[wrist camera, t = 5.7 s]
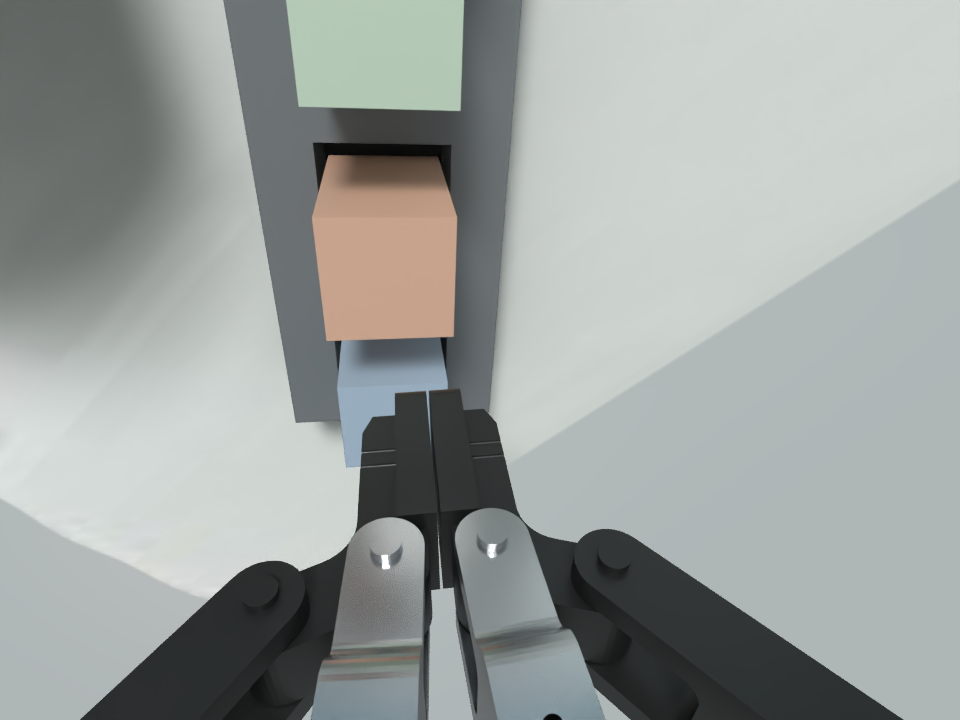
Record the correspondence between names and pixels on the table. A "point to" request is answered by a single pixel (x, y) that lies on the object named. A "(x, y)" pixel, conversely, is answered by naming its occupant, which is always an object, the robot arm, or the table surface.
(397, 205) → the terracotta key
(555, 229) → the table surface
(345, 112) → the grey long flat block
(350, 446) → the slate key
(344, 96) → the sage key
